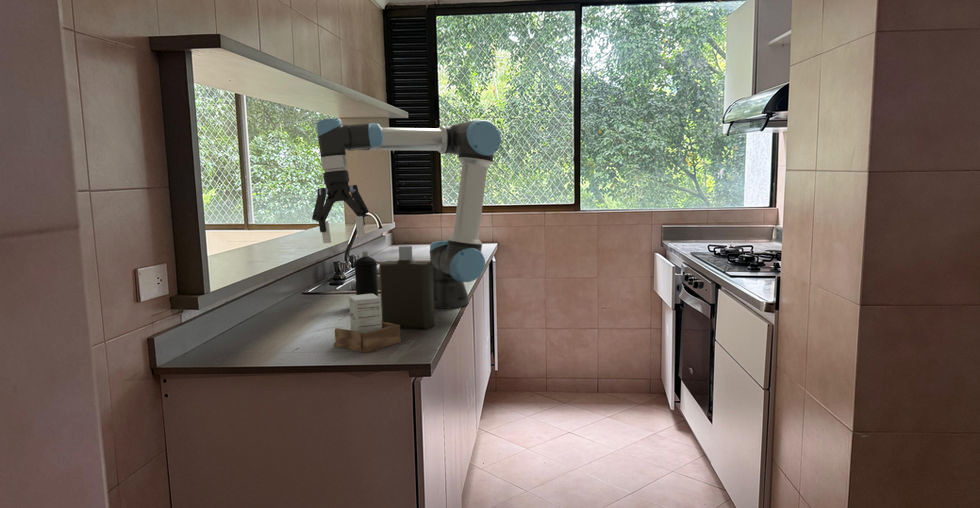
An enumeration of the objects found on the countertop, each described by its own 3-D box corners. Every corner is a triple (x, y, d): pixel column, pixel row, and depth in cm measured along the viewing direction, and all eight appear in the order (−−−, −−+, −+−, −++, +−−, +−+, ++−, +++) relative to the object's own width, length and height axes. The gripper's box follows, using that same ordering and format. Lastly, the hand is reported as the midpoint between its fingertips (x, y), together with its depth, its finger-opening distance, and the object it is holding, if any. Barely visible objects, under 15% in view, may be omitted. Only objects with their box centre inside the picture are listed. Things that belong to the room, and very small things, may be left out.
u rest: (334, 346, 181) (333, 328, 180) (369, 335, 191) (368, 319, 190) (366, 353, 173) (365, 334, 172) (400, 342, 183) (399, 324, 183)
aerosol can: (377, 308, 230) (374, 252, 227) (353, 308, 230) (351, 252, 228) (381, 303, 238) (378, 249, 236) (358, 303, 238) (356, 249, 236)
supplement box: (350, 339, 184) (348, 295, 182) (376, 336, 187) (374, 292, 185) (356, 345, 177) (354, 300, 175) (383, 341, 180) (381, 297, 178)
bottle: (427, 330, 196) (424, 248, 193) (379, 327, 201) (375, 247, 198) (437, 324, 204) (434, 245, 201) (390, 321, 208) (386, 244, 205)
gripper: (357, 169, 209) (366, 235, 211) (293, 174, 189) (303, 246, 191) (374, 167, 204) (382, 234, 207) (309, 171, 185) (320, 245, 187)
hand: (344, 240), depth 199 cm, fingers open, 13 cm apart
